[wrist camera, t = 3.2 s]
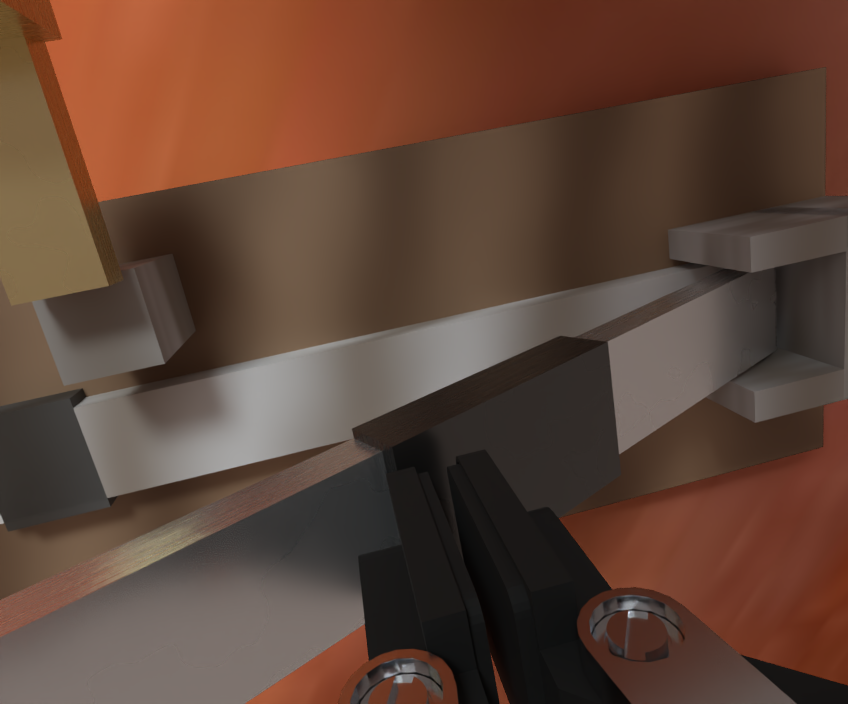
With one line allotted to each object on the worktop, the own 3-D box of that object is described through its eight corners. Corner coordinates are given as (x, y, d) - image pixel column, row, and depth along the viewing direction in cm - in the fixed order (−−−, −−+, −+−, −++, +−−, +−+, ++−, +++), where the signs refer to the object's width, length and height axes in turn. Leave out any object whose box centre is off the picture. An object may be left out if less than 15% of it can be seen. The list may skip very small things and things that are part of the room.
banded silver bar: (748, 248, 19) (794, 247, 18) (751, 350, 20) (795, 355, 19) (-513, 804, 6) (-632, 932, 5) (-319, 1031, 7) (-379, 1182, 6)
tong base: (791, 76, 21) (949, 34, 16) (793, 432, 25) (921, 495, 20) (-152, 251, 17) (-356, 274, 12) (25, 635, 21) (-72, 779, 16)
